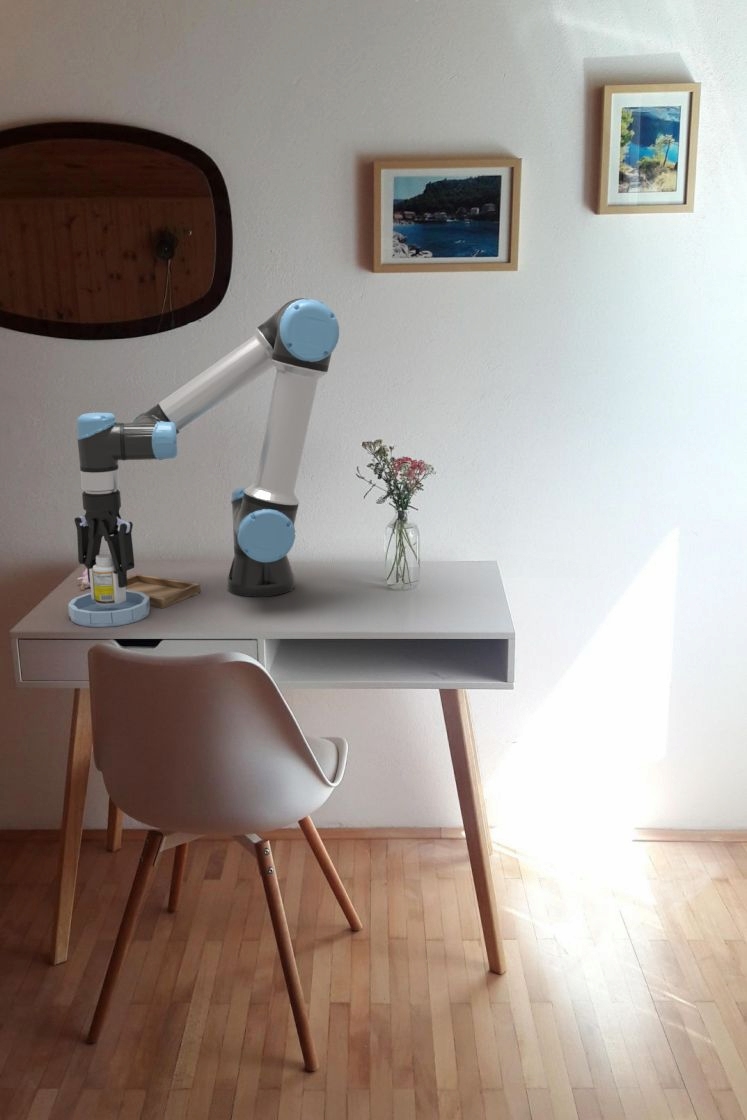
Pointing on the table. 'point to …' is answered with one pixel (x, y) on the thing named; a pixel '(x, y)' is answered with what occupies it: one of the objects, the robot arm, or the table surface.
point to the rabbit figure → (85, 580)
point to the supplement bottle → (104, 580)
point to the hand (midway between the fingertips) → (108, 599)
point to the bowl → (109, 610)
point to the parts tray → (161, 589)
